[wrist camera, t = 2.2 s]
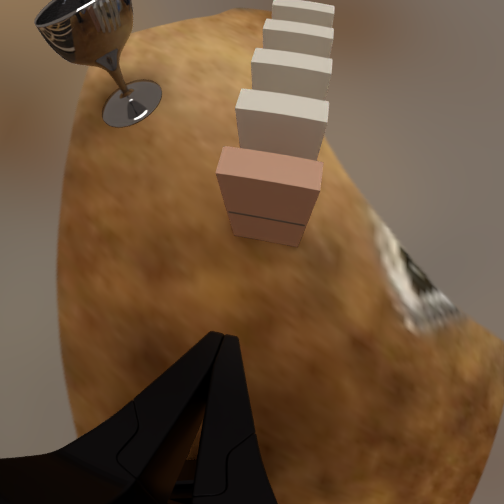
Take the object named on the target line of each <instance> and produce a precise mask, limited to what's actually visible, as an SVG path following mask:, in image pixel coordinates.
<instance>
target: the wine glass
mask: <svg viewBox="0 0 504 504" xmlns="http://www.w3.org/2000/svg"><path fill="white" fill-rule="evenodd" d="M34 23H35V25H36V27H37V28H38V30H39V32H40V33H41V35H42V36H43V38H44V39H45V40H46V42H47V43H48V44H49V45H50V47H51V48H52V49H53V50H54V51H55V52H56V53H57V54H59V55H60V56H61V57H62V58H64V59H65V60H67V61H69V62H70V63H73V64H78V65H86V66H95V67H99V68H102V69H104V70H106V71H107V72H108V73H109V74H110V75H111V77H112V78H113V79H114V80H115V82H116V83H117V85H118V86H119V88H118V89H117V90H115V91H114V92H113V93H112V94H111V95H110V96H109V98H108V99H107V100H106V102H105V104H104V106H103V109H102V118H103V120H104V122H105V123H106V124H108V125H109V126H112V127H126V126H130V125H133V124H135V123H138V122H139V121H141V120H143V119H144V118H146V117H147V116H148V115H150V114H151V113H152V112H153V111H154V110H155V108H156V107H157V106H158V104H159V102H160V100H161V97H162V90H161V87H160V86H159V85H158V84H157V83H156V82H154V81H152V80H146V79H142V80H135V81H132V82H129V83H127V84H126V83H125V81H124V79H123V76H122V73H121V69H120V65H119V60H120V55H121V52H122V50H123V48H124V46H125V44H126V42H127V40H128V38H129V36H130V34H131V31H132V28H133V8H132V2H131V0H52V1H51V2H50V3H48V5H46V6H45V7H44V8H43V9H42V10H41V11H40V13H39V14H38V15H37V17H36V18H35V22H34Z"/></svg>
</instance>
